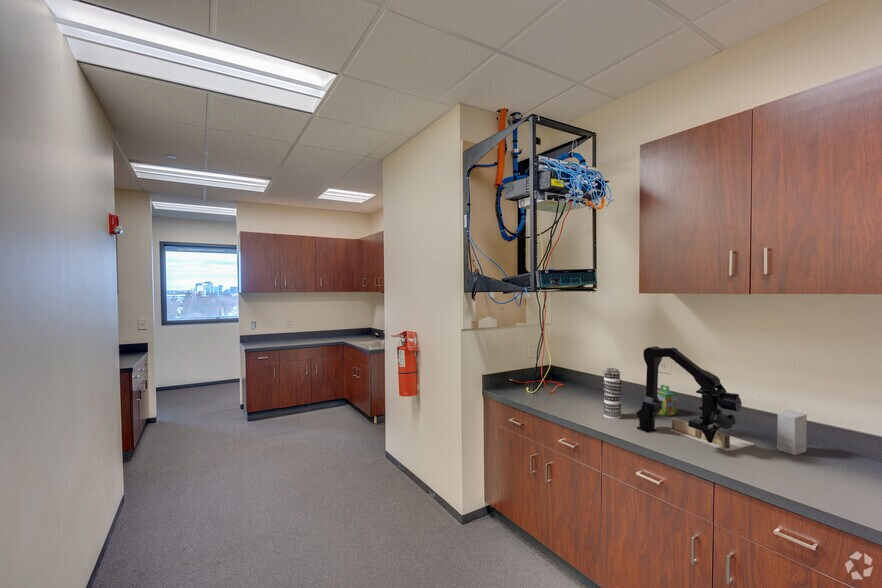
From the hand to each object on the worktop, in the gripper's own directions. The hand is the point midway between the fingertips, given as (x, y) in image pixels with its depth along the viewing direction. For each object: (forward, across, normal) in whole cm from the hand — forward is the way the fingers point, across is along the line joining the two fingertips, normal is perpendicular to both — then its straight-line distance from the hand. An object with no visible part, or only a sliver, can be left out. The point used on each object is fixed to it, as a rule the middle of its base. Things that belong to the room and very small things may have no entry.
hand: (709, 442), depth 164 cm
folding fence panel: (+2, +7, +2) cm, 7 cm away
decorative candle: (+3, -6, +47) cm, 47 cm away
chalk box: (+3, +24, +40) cm, 46 cm away
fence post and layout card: (+2, +12, +9) cm, 15 cm away
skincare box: (+3, +28, -15) cm, 31 cm away
